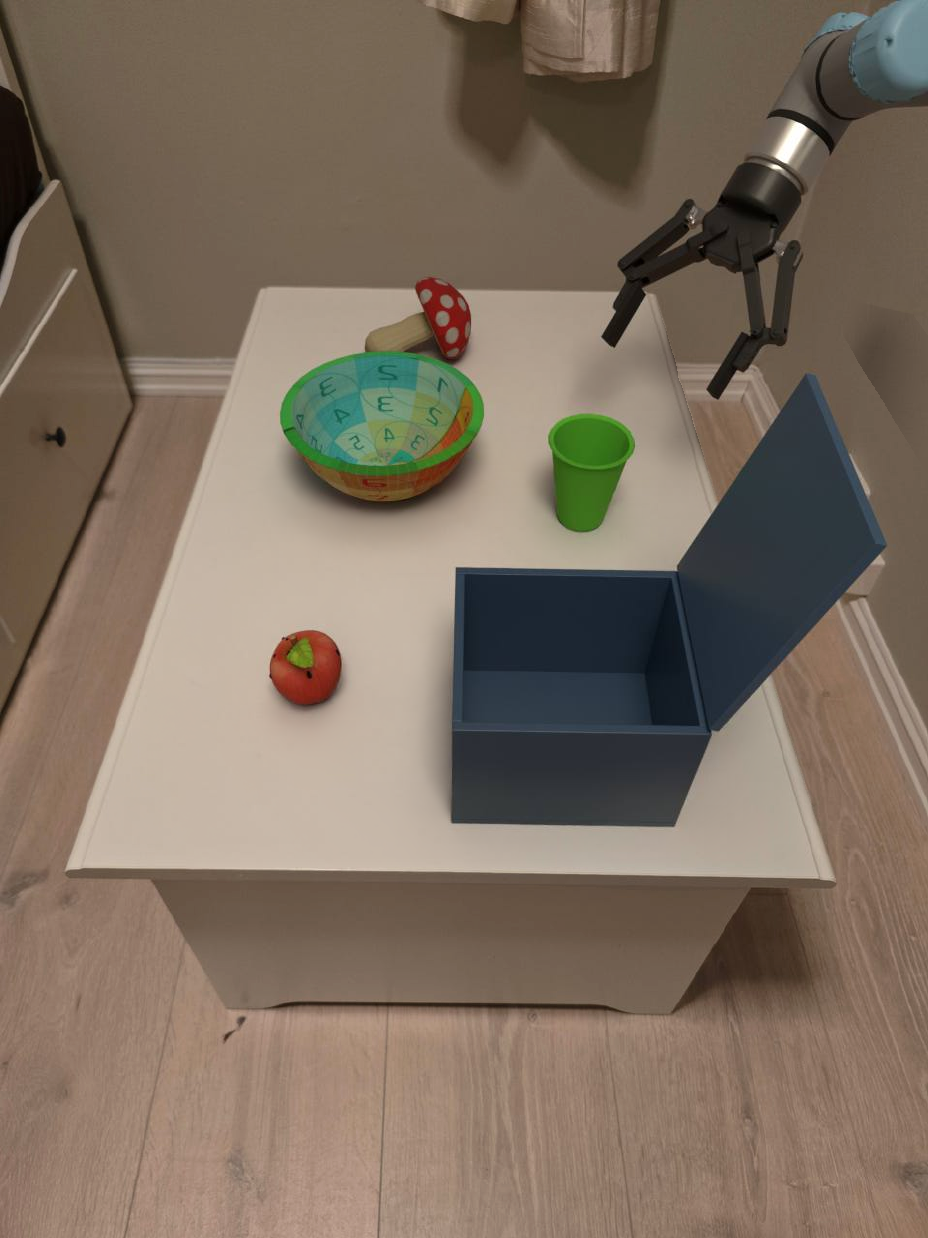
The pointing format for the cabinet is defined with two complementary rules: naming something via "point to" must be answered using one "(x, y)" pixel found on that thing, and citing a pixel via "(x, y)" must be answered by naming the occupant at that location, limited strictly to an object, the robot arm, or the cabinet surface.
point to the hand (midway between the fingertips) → (658, 368)
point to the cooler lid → (775, 552)
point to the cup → (587, 467)
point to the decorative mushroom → (428, 322)
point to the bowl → (382, 422)
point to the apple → (306, 667)
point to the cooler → (573, 698)
